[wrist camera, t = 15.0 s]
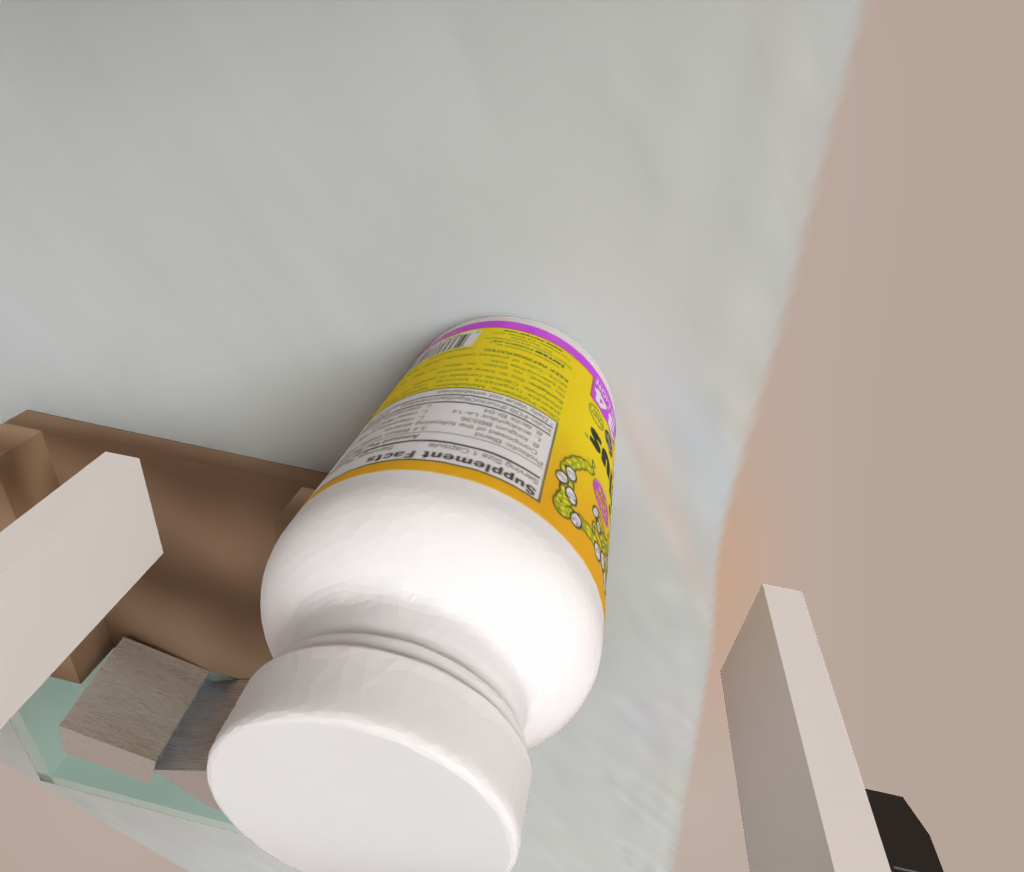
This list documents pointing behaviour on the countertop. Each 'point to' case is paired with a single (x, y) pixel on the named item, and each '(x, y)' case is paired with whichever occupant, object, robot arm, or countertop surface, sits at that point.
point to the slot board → (170, 538)
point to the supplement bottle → (431, 615)
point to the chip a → (131, 709)
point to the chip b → (199, 738)
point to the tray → (54, 766)
